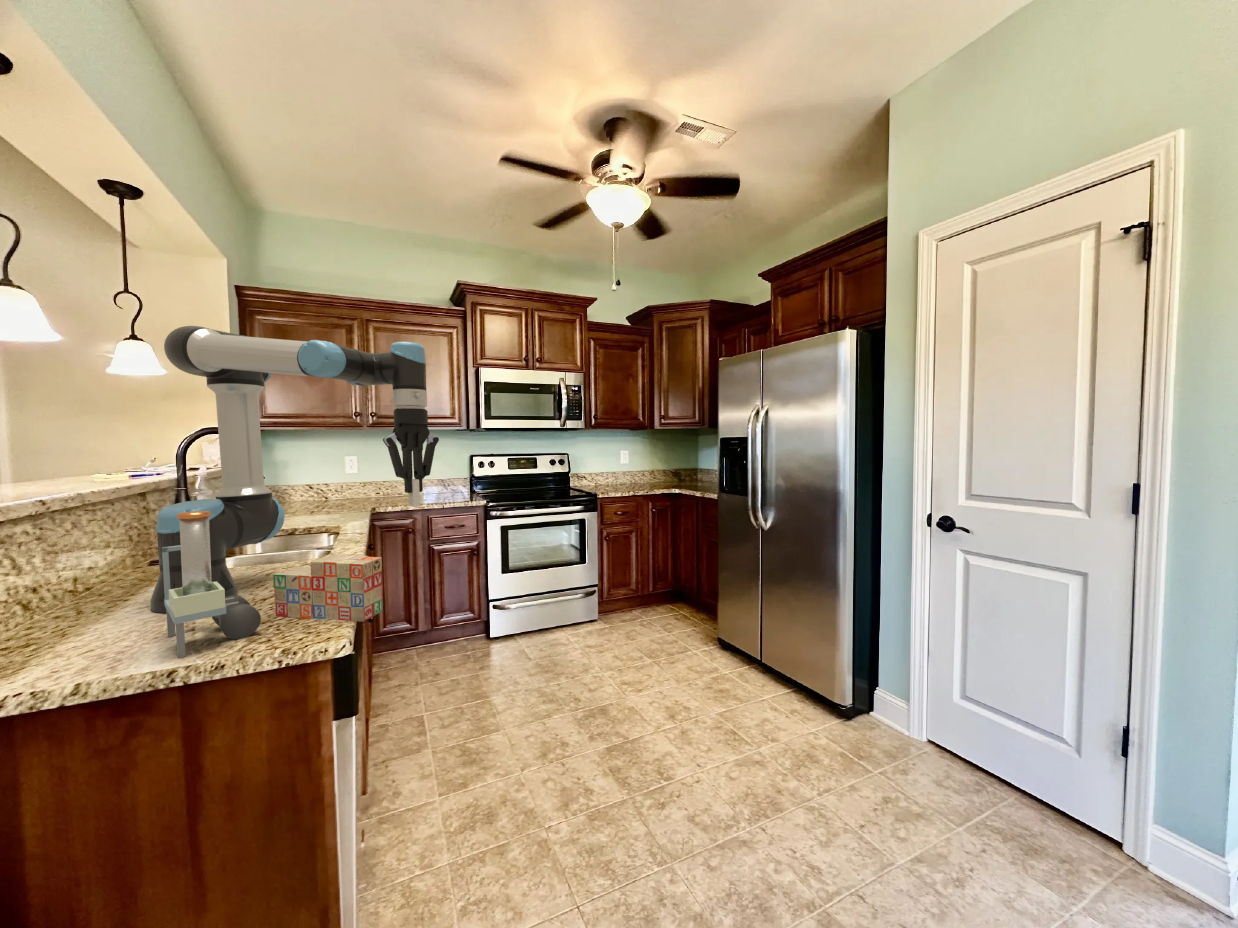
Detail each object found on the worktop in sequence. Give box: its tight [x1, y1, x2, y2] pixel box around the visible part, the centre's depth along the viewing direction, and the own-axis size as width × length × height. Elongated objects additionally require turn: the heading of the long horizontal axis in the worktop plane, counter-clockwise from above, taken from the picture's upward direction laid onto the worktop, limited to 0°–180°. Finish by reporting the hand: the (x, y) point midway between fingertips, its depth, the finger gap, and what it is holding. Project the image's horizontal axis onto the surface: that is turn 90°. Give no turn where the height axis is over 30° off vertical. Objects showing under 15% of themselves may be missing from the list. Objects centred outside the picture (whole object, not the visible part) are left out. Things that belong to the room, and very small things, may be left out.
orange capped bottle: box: [177, 511, 212, 596], centre depth 88 cm, size 5×5×17 cm
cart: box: [162, 545, 262, 659], centre depth 93 cm, size 15×12×17 cm
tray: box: [169, 581, 225, 618], centre depth 88 cm, size 8×7×3 cm
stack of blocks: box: [272, 554, 384, 622], centre depth 104 cm, size 21×6×12 cm, turn 81°
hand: (414, 505), depth 118 cm, fingers closed
